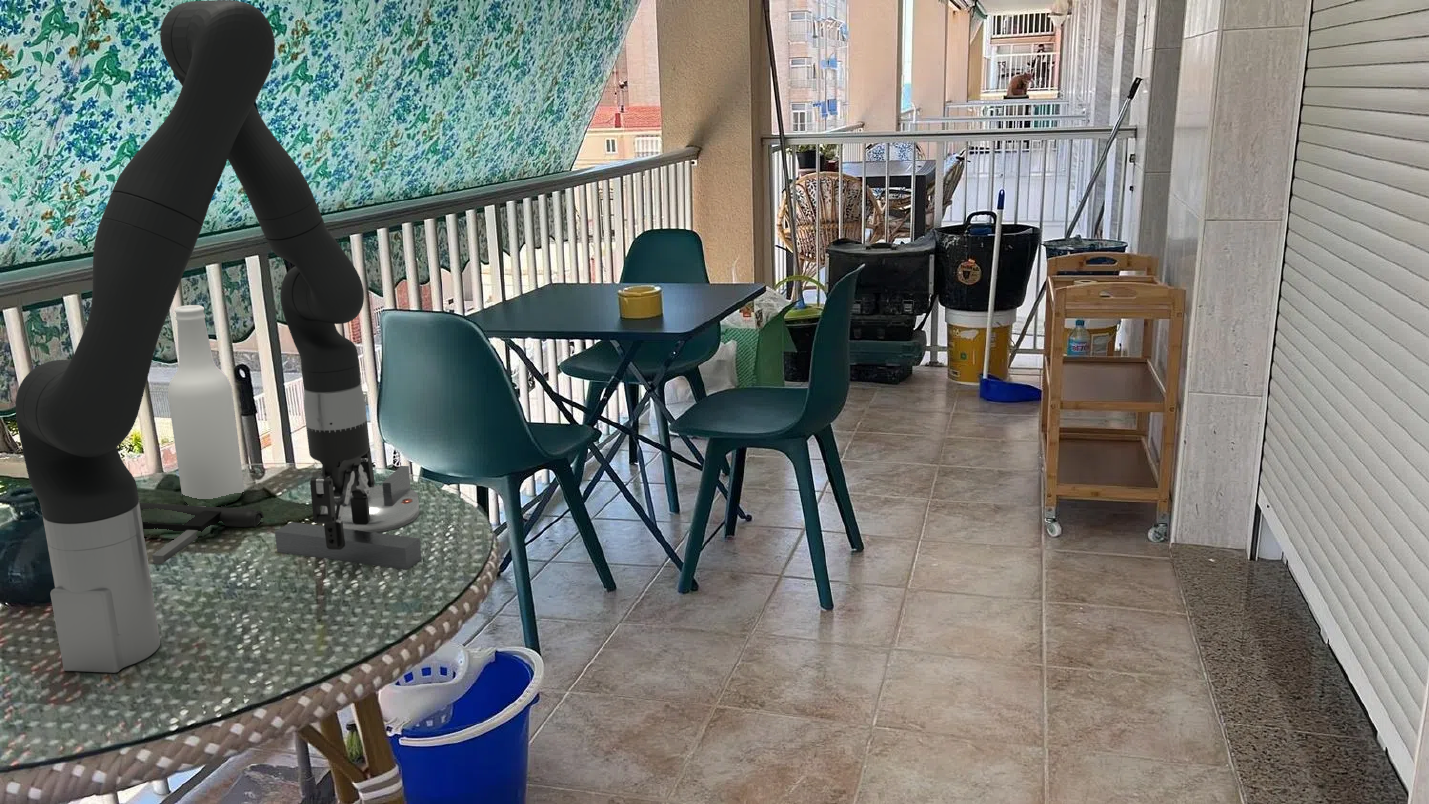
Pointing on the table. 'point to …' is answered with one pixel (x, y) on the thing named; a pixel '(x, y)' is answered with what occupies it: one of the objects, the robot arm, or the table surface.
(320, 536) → the bar
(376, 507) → the slotted disc stand
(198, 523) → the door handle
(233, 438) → the alcohol
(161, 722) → the table surface
